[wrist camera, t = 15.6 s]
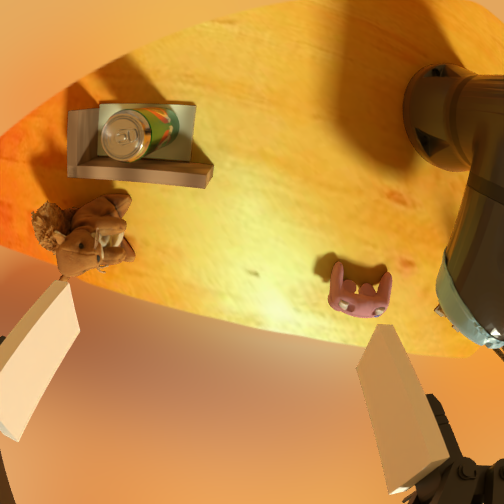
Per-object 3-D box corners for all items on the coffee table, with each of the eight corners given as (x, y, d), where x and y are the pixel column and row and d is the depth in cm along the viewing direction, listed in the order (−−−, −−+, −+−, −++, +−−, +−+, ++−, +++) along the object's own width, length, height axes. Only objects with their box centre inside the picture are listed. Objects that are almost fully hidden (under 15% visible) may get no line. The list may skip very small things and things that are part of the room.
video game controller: (323, 274, 46) (324, 316, 42) (335, 257, 42) (337, 301, 38) (379, 285, 47) (383, 325, 42) (393, 270, 43) (399, 311, 39)
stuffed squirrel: (140, 260, 44) (105, 315, 32) (62, 242, 43) (15, 286, 31) (144, 196, 39) (101, 236, 27) (60, 182, 38) (4, 214, 26)
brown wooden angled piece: (220, 107, 34) (213, 108, 29) (212, 176, 38) (204, 188, 32) (92, 104, 33) (68, 106, 28) (90, 166, 37) (67, 177, 32)
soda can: (139, 111, 33) (93, 116, 23) (178, 103, 33) (144, 103, 22) (145, 149, 36) (102, 169, 25) (183, 143, 35) (152, 160, 25)
